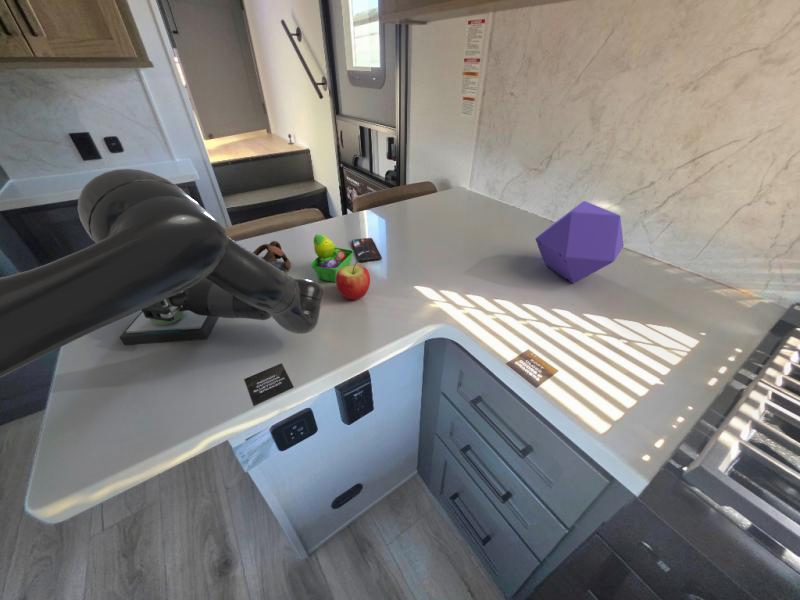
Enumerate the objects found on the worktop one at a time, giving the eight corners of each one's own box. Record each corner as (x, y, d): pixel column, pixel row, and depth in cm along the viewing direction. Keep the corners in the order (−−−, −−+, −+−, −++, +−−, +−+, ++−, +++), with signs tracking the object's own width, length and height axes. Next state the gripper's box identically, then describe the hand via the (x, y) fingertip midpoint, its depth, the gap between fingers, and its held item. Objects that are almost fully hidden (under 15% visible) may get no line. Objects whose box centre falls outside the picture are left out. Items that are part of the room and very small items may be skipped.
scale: (207, 339, 66) (202, 329, 65) (124, 345, 65) (117, 334, 63) (230, 296, 79) (227, 286, 78) (161, 299, 78) (157, 290, 76)
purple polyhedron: (606, 300, 87) (661, 235, 79) (564, 287, 78) (620, 212, 69) (550, 262, 105) (590, 205, 96) (510, 247, 95) (550, 183, 86)
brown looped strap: (291, 276, 88) (270, 257, 82) (264, 288, 91) (242, 270, 85) (296, 248, 96) (277, 228, 90) (271, 259, 98) (251, 241, 92)
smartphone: (359, 260, 94) (351, 239, 105) (359, 262, 94) (351, 241, 106) (382, 257, 96) (372, 237, 107) (382, 259, 96) (372, 239, 108)
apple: (376, 299, 79) (375, 264, 73) (344, 309, 76) (340, 273, 70) (363, 283, 85) (361, 250, 79) (333, 292, 82) (328, 257, 76)
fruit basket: (337, 286, 84) (332, 247, 77) (308, 279, 86) (301, 241, 80) (355, 266, 93) (353, 230, 86) (328, 261, 95) (324, 225, 88)
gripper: (236, 264, 66) (164, 258, 68) (191, 304, 55) (105, 296, 56) (246, 293, 71) (178, 287, 72) (206, 336, 59) (126, 328, 61)
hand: (146, 291), depth 64 cm, fingers closed on tumbler, 6 cm apart
